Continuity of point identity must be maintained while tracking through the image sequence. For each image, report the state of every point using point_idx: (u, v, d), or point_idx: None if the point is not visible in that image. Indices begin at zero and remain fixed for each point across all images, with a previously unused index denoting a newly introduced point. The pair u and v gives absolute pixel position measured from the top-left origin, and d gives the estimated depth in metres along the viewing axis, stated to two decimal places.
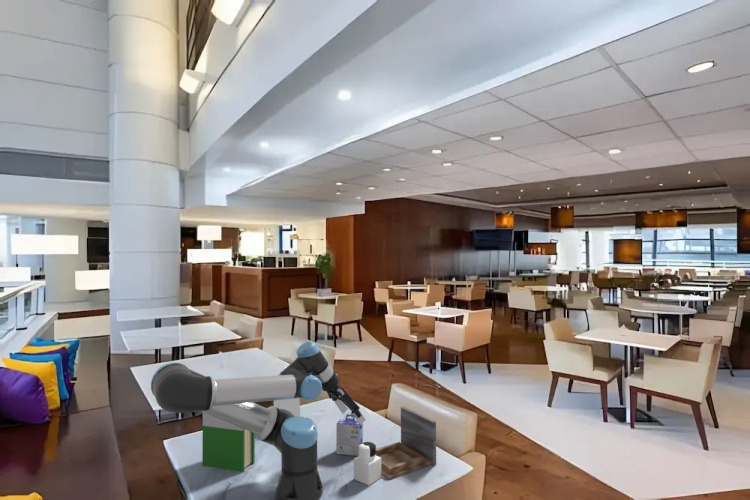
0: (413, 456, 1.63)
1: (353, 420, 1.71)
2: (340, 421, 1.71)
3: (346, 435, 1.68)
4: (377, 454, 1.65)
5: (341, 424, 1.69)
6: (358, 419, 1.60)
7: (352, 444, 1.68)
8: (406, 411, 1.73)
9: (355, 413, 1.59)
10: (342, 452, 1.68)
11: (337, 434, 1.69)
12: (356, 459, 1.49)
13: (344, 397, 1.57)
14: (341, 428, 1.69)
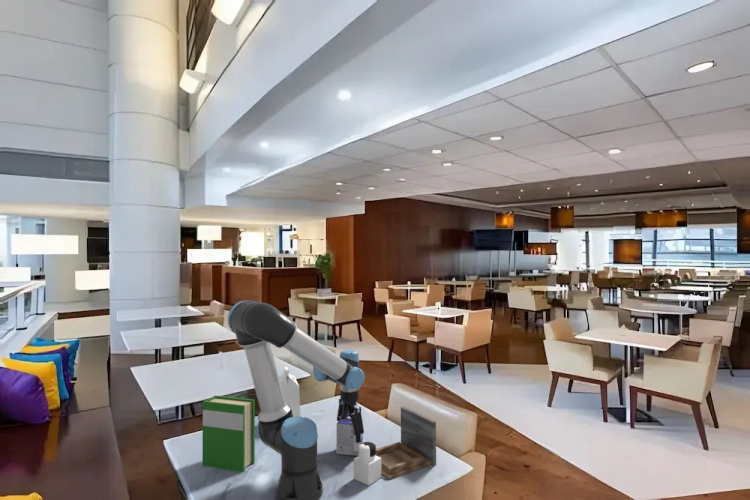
0: (413, 456, 1.63)
1: None
2: (340, 421, 1.71)
3: (346, 435, 1.68)
4: (377, 454, 1.65)
5: (341, 424, 1.69)
6: (355, 444, 1.65)
7: (352, 444, 1.68)
8: (406, 411, 1.73)
9: (356, 436, 1.65)
10: (342, 452, 1.68)
11: (337, 434, 1.69)
12: (356, 459, 1.49)
13: (357, 415, 1.65)
14: (341, 428, 1.69)
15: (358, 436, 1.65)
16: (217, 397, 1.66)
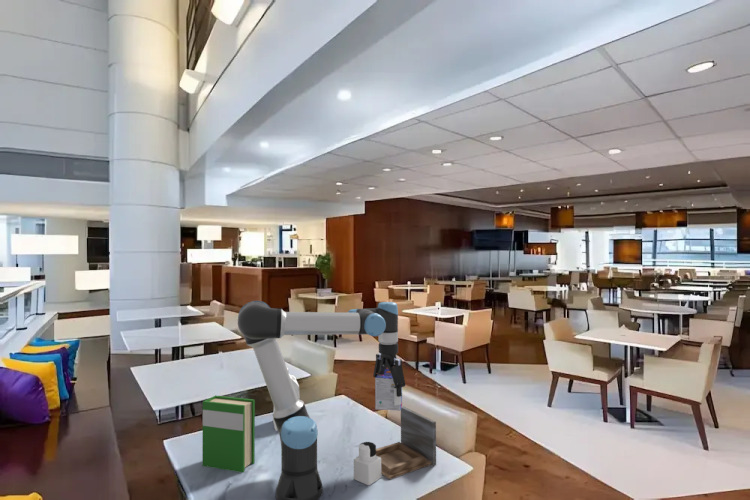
0: (413, 456, 1.63)
1: None
2: (379, 376, 1.64)
3: (386, 389, 1.61)
4: (377, 454, 1.65)
5: (380, 378, 1.62)
6: (396, 398, 1.58)
7: (392, 399, 1.61)
8: (406, 411, 1.73)
9: (397, 390, 1.58)
10: (382, 408, 1.61)
11: (376, 389, 1.62)
12: (356, 459, 1.49)
13: (398, 368, 1.58)
14: (380, 382, 1.62)
15: (399, 389, 1.58)
16: (217, 397, 1.66)
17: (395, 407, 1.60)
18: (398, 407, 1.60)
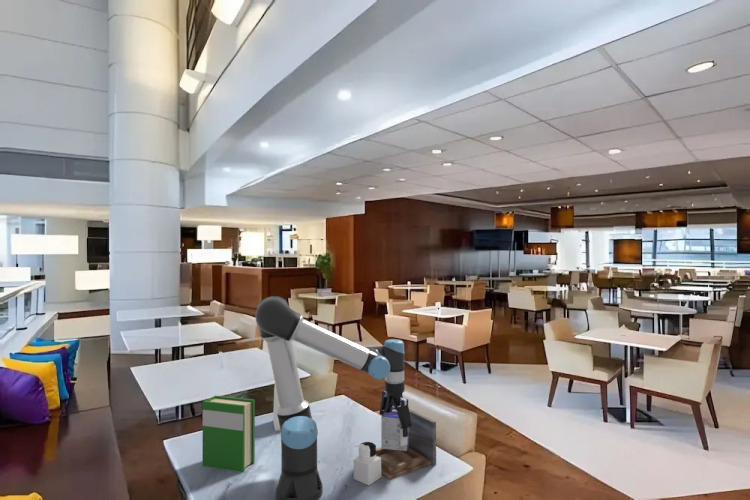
0: (413, 456, 1.63)
1: None
2: (385, 414, 1.62)
3: (392, 429, 1.60)
4: (377, 454, 1.65)
5: (386, 417, 1.60)
6: (402, 439, 1.57)
7: (398, 438, 1.59)
8: None
9: (403, 430, 1.56)
10: (388, 447, 1.60)
11: (382, 428, 1.60)
12: (356, 459, 1.49)
13: (404, 408, 1.56)
14: (387, 421, 1.60)
15: (405, 430, 1.56)
16: (217, 397, 1.66)
17: (401, 447, 1.59)
18: (404, 447, 1.58)
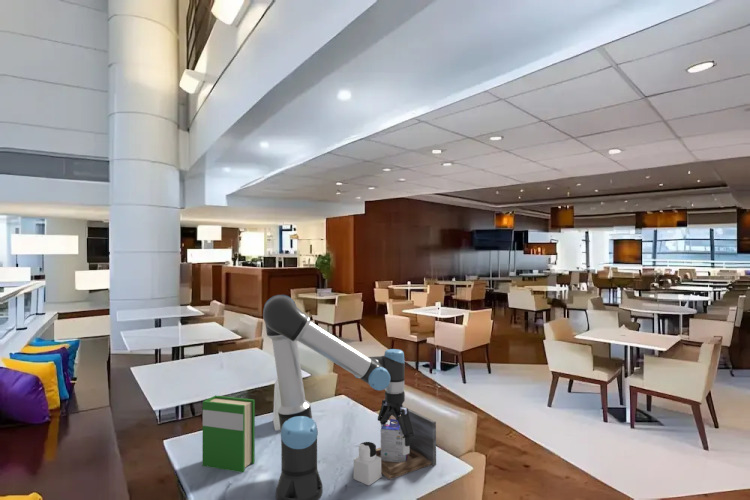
0: (413, 456, 1.63)
1: (398, 425, 1.62)
2: (384, 426, 1.63)
3: (391, 441, 1.60)
4: (377, 454, 1.65)
5: (385, 429, 1.61)
6: (404, 448, 1.55)
7: (398, 451, 1.59)
8: None
9: (406, 439, 1.55)
10: (387, 459, 1.60)
11: (381, 441, 1.61)
12: (356, 459, 1.49)
13: (405, 417, 1.56)
14: (386, 434, 1.60)
15: (408, 439, 1.55)
16: (217, 397, 1.66)
17: (401, 459, 1.59)
18: (404, 459, 1.59)
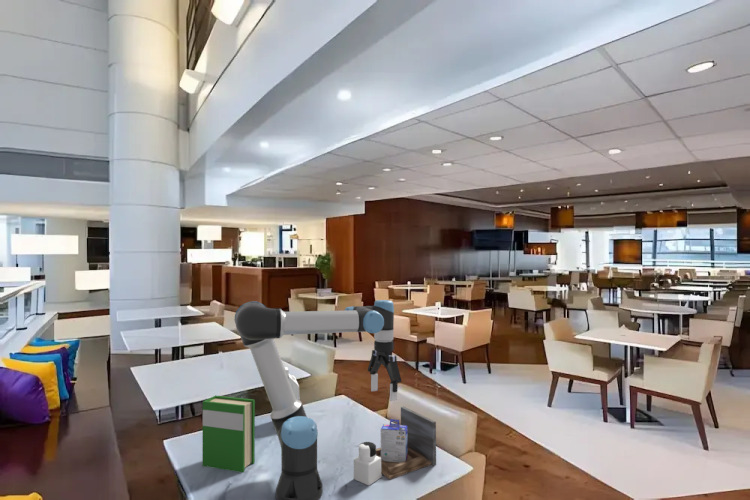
0: (413, 456, 1.63)
1: (398, 425, 1.62)
2: (384, 426, 1.63)
3: (391, 441, 1.60)
4: (377, 454, 1.65)
5: (385, 429, 1.61)
6: (392, 394, 1.58)
7: (398, 451, 1.59)
8: (406, 411, 1.73)
9: (393, 385, 1.58)
10: (387, 459, 1.60)
11: (381, 441, 1.61)
12: (356, 459, 1.49)
13: (393, 363, 1.59)
14: (386, 434, 1.60)
15: (395, 385, 1.58)
16: (217, 397, 1.66)
17: (401, 459, 1.59)
18: (404, 459, 1.59)
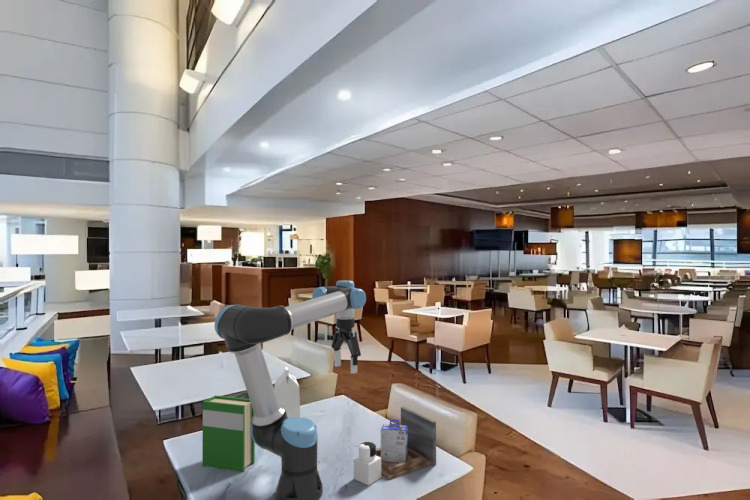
0: (413, 456, 1.63)
1: (398, 425, 1.62)
2: (384, 426, 1.63)
3: (391, 441, 1.60)
4: (377, 454, 1.65)
5: (385, 429, 1.61)
6: (352, 367, 1.69)
7: (398, 451, 1.59)
8: (406, 411, 1.73)
9: (353, 359, 1.69)
10: (387, 459, 1.60)
11: (381, 441, 1.61)
12: (356, 459, 1.49)
13: (353, 339, 1.70)
14: (386, 434, 1.60)
15: (355, 359, 1.69)
16: (217, 397, 1.66)
17: (401, 459, 1.59)
18: (404, 459, 1.59)
